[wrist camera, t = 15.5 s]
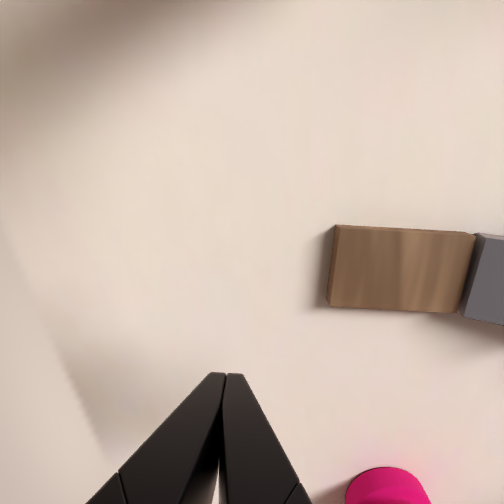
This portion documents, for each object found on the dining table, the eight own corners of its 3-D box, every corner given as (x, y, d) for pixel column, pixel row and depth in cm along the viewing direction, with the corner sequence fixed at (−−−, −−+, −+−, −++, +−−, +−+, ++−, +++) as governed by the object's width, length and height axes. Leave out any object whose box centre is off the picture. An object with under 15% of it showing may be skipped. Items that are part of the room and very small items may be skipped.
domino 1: (330, 306, 20) (456, 313, 20) (340, 228, 18) (476, 235, 18) (324, 295, 21) (440, 301, 21) (333, 222, 20) (457, 229, 20)
